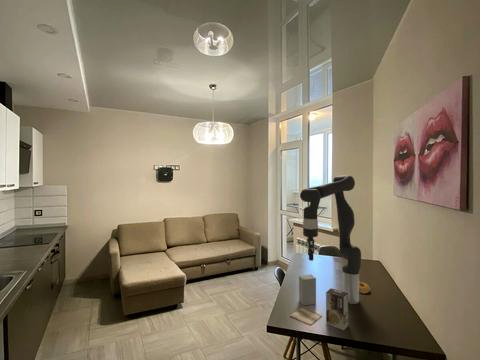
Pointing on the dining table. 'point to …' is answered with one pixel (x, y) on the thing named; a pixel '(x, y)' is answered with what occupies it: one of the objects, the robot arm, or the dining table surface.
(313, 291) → the skincare box
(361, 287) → the bagel
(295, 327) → the dining table surface
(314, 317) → the cork rest mat
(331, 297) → the coffee box
